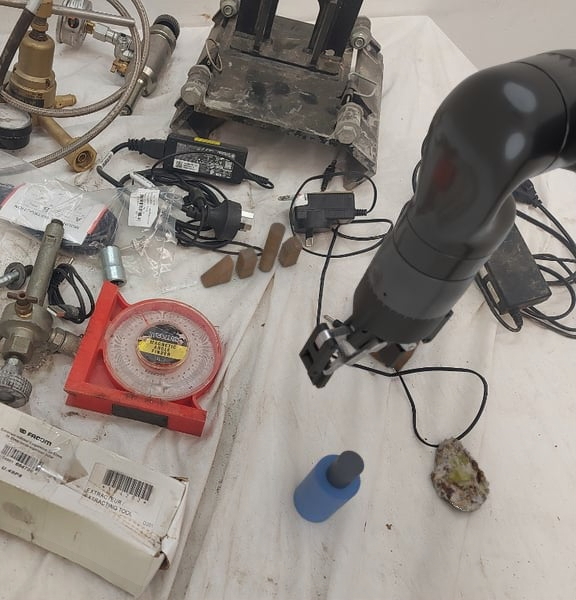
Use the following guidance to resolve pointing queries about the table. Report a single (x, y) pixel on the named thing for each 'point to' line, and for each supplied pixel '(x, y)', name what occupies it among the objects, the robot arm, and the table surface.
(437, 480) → the mineral rock
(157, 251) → the table surface
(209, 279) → the wood blocks
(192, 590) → the table surface
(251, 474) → the table surface
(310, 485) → the bottle
